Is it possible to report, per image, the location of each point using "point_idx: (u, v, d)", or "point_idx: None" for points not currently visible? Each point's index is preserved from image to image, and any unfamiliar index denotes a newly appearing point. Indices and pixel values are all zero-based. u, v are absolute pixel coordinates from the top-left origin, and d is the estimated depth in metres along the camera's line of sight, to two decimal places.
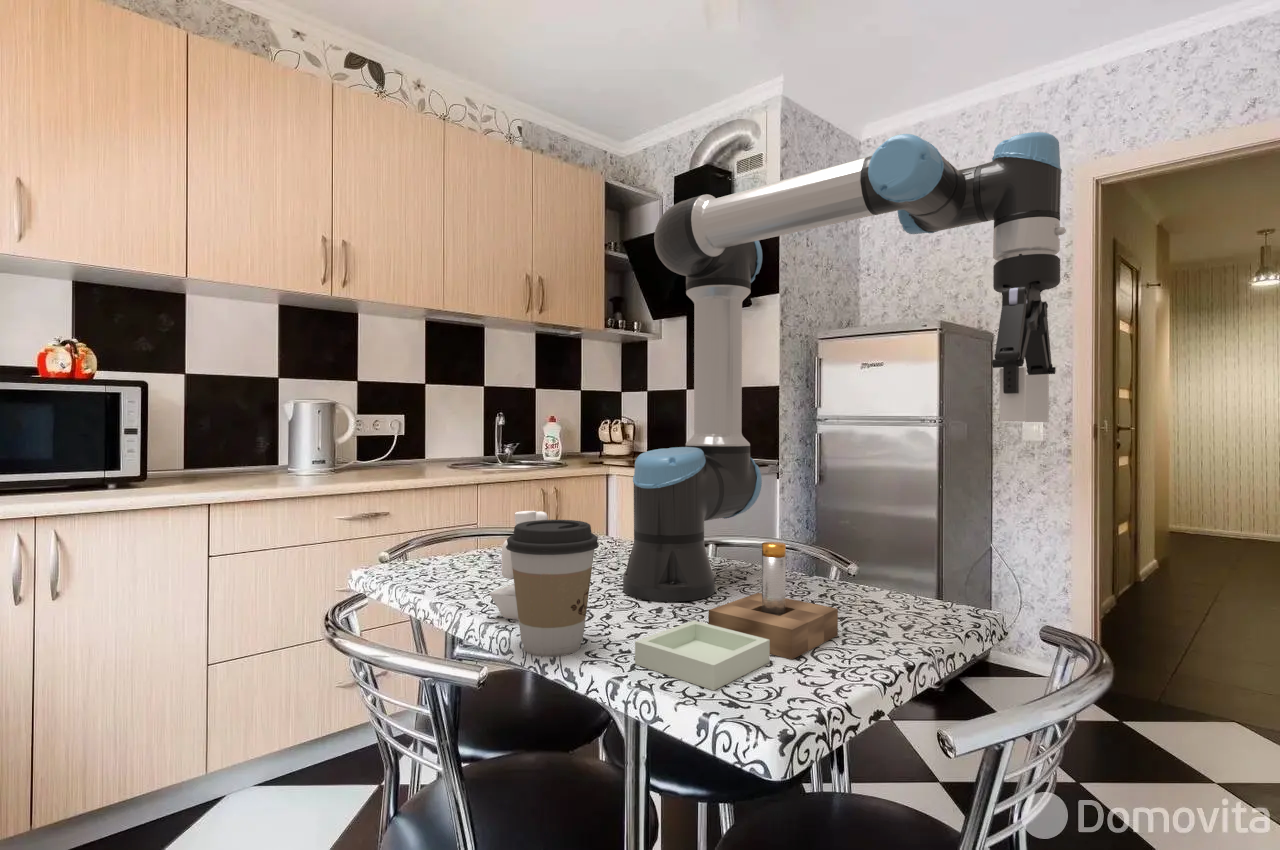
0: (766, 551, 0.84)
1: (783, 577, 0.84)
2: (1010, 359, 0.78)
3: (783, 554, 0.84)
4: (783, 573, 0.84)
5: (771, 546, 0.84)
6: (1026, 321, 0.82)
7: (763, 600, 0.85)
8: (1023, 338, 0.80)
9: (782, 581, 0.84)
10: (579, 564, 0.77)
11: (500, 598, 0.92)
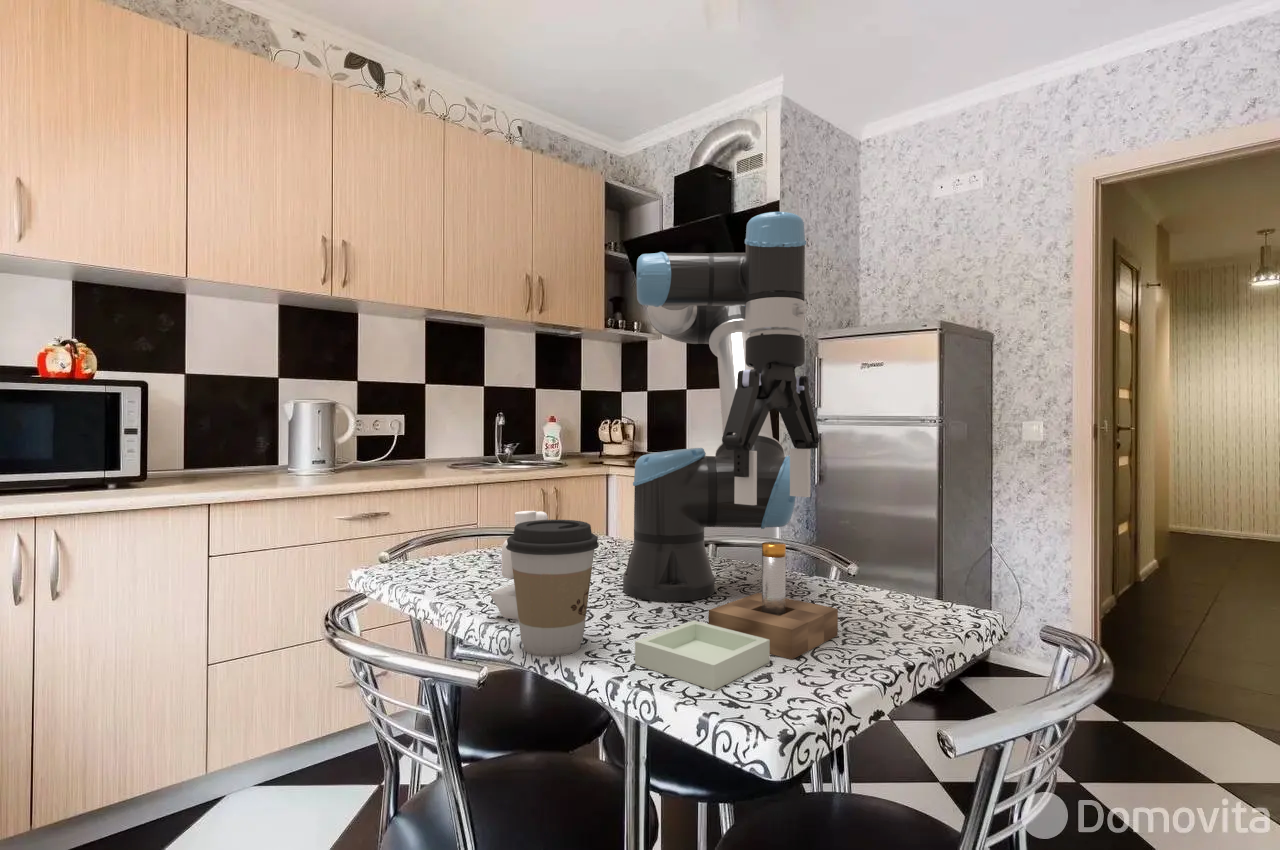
0: (766, 551, 0.84)
1: (783, 577, 0.84)
2: (734, 444, 0.77)
3: (783, 554, 0.84)
4: (783, 573, 0.84)
5: (771, 546, 0.84)
6: (764, 402, 0.81)
7: (763, 600, 0.85)
8: (756, 420, 0.80)
9: (782, 581, 0.84)
10: (579, 564, 0.77)
11: (500, 598, 0.92)
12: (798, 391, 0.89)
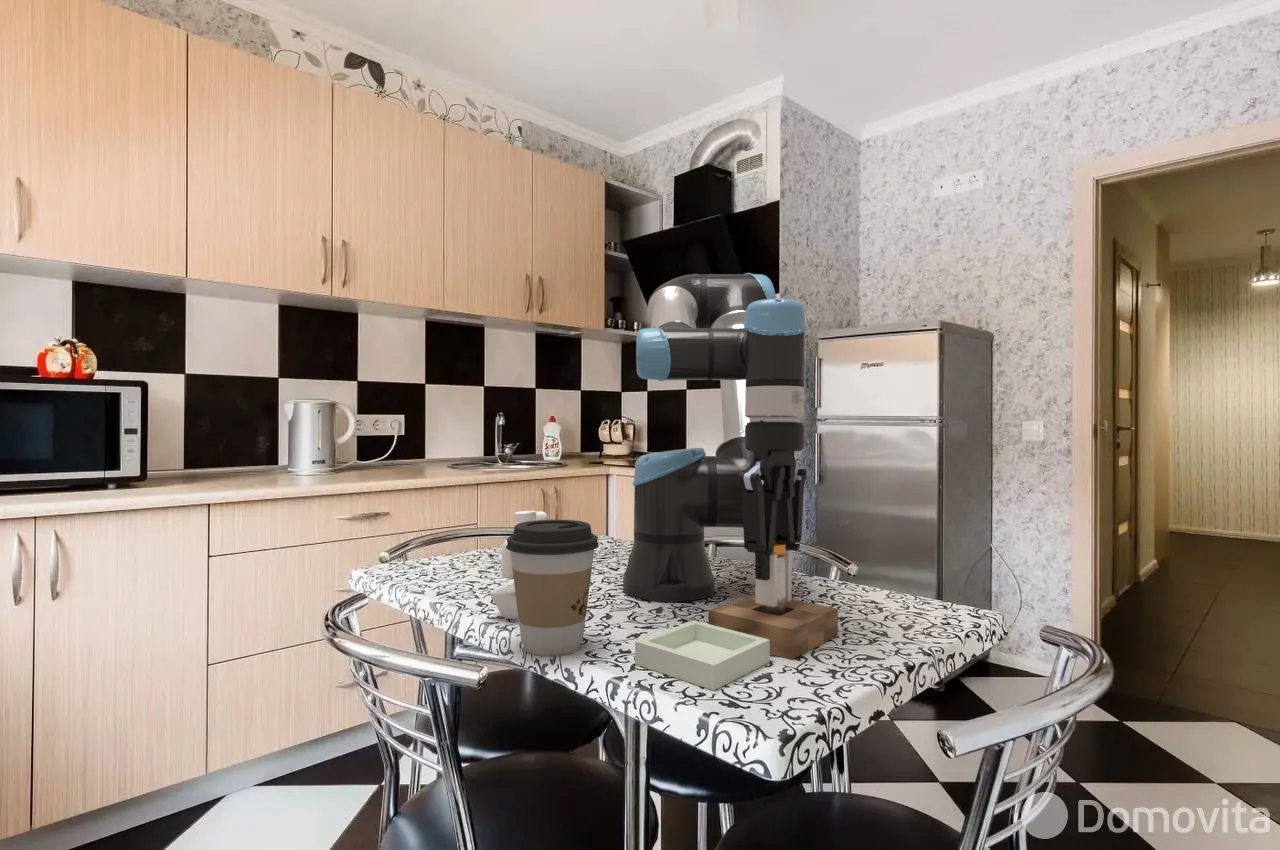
0: None
1: (783, 577, 0.84)
2: (757, 550, 0.81)
3: (783, 554, 0.84)
4: (783, 573, 0.84)
5: None
6: (770, 498, 0.83)
7: None
8: (769, 522, 0.82)
9: (782, 581, 0.84)
10: (579, 564, 0.77)
11: (500, 598, 0.92)
12: (794, 480, 0.88)
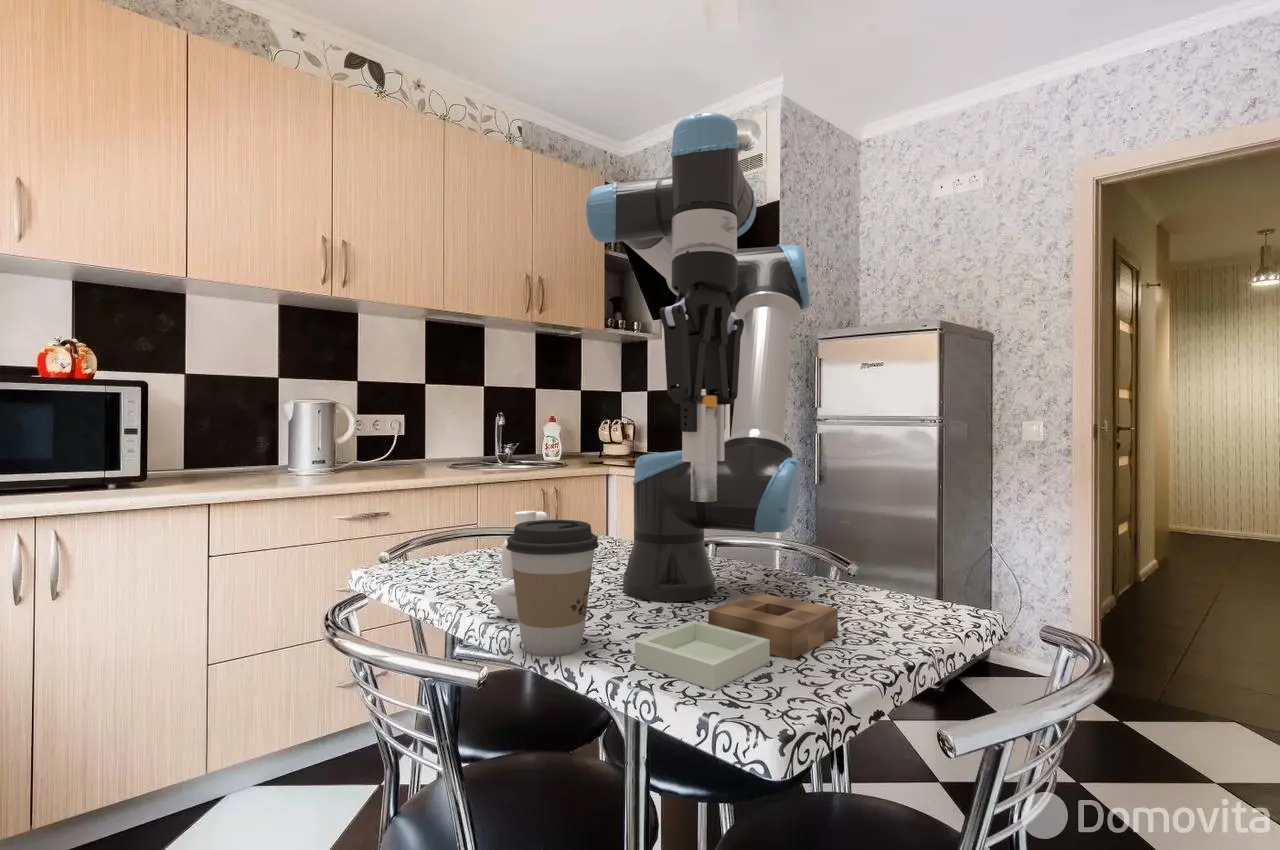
0: None
1: (714, 431, 0.74)
2: (682, 396, 0.72)
3: (714, 405, 0.74)
4: (714, 427, 0.74)
5: None
6: (697, 339, 0.73)
7: None
8: (695, 366, 0.73)
9: (712, 436, 0.74)
10: (579, 564, 0.77)
11: (500, 598, 0.92)
12: (729, 330, 0.78)
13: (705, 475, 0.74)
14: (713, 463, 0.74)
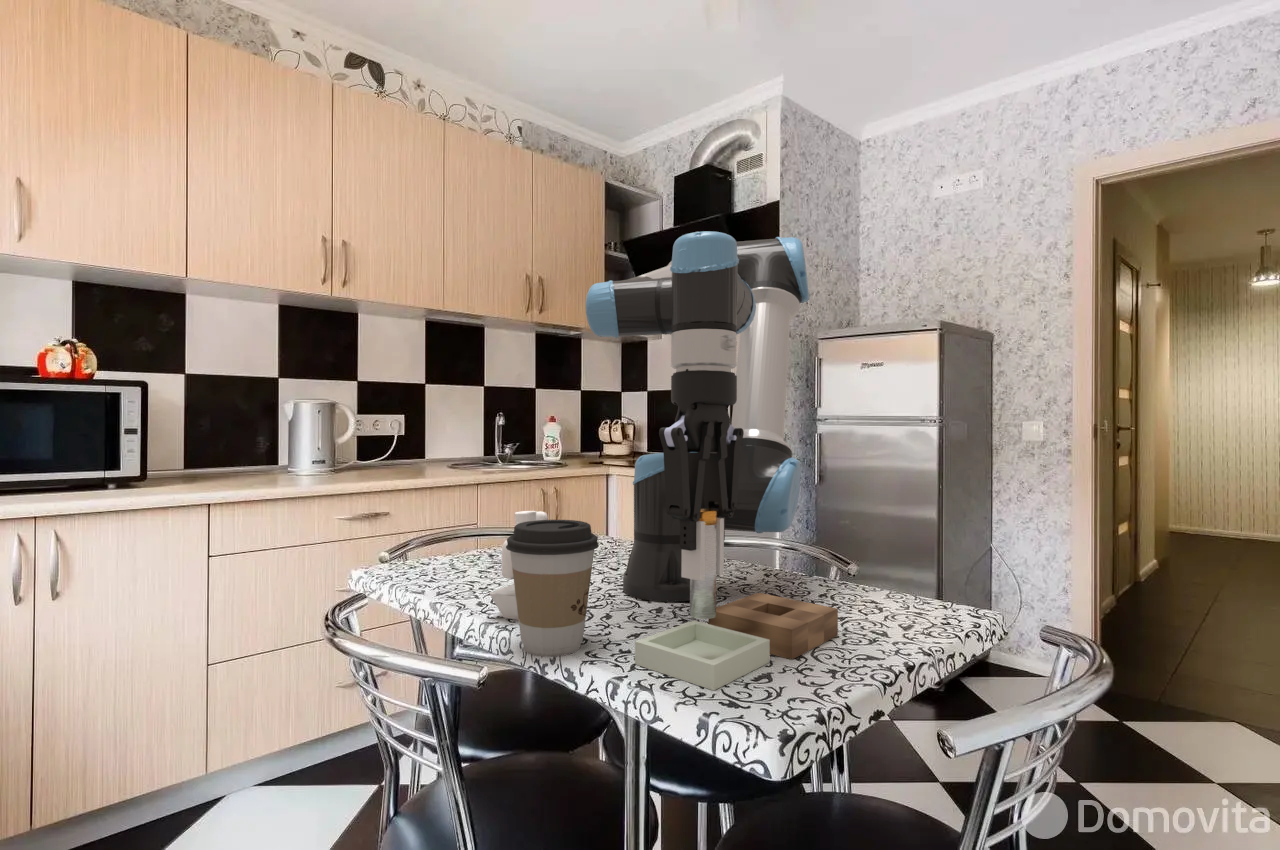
0: None
1: (713, 547, 0.74)
2: (681, 516, 0.72)
3: (713, 521, 0.74)
4: (713, 543, 0.74)
5: None
6: (697, 457, 0.73)
7: None
8: (695, 485, 0.72)
9: (712, 552, 0.74)
10: (579, 564, 0.77)
11: (500, 598, 0.92)
12: (729, 440, 0.78)
13: (704, 592, 0.74)
14: (712, 579, 0.74)
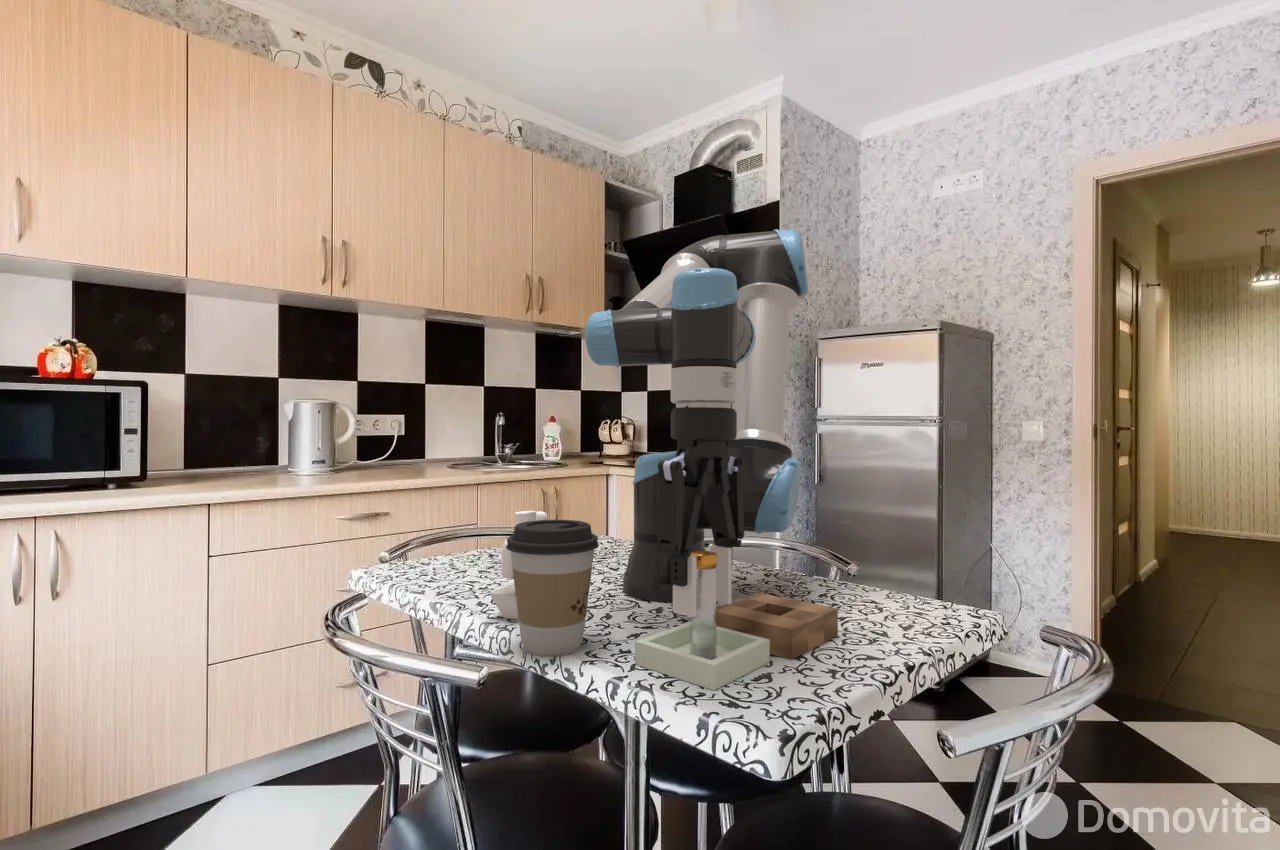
0: None
1: (713, 591, 0.74)
2: (671, 552, 0.70)
3: (713, 565, 0.74)
4: (713, 587, 0.74)
5: (699, 556, 0.74)
6: (693, 492, 0.73)
7: (691, 617, 0.75)
8: (689, 519, 0.72)
9: (712, 596, 0.74)
10: (579, 564, 0.77)
11: (500, 598, 0.92)
12: (730, 472, 0.79)
13: (704, 636, 0.74)
14: (712, 623, 0.74)
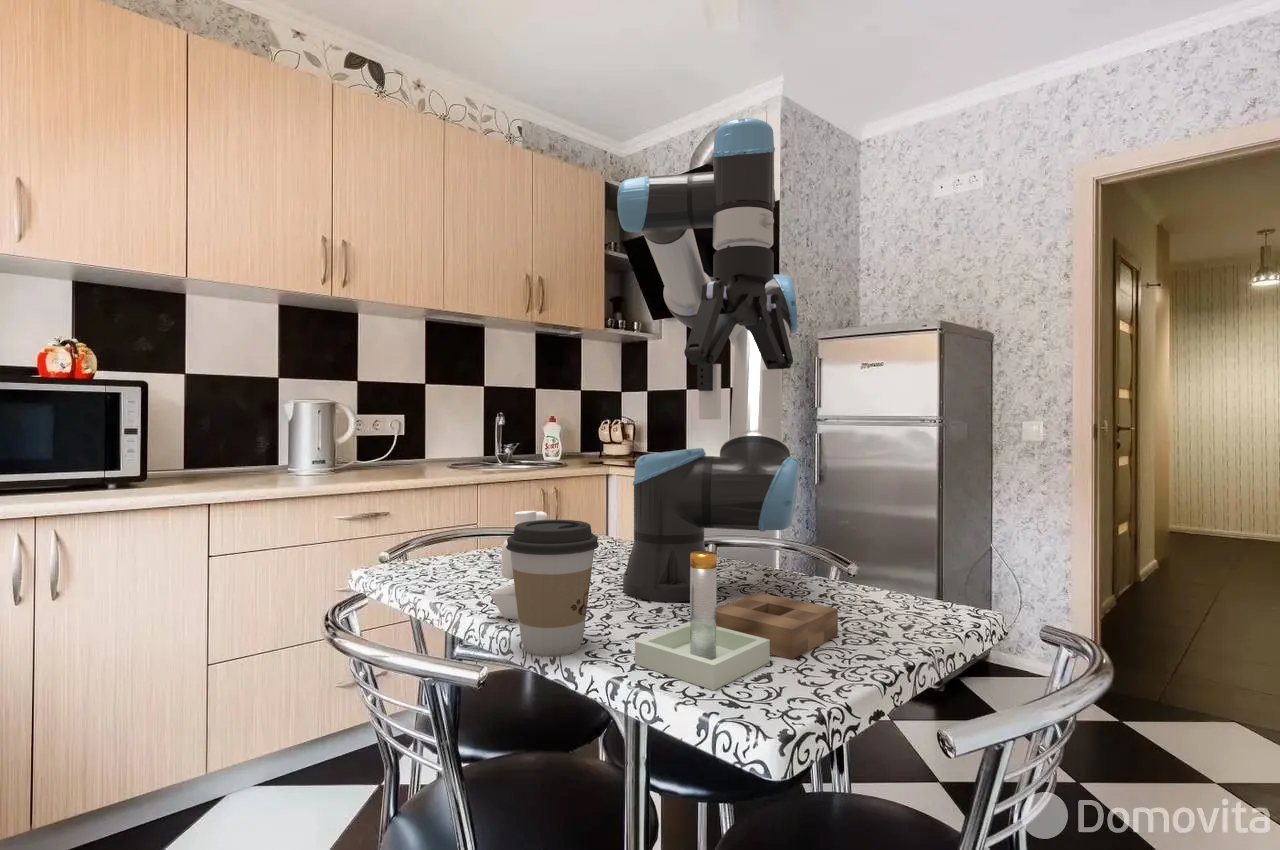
0: (694, 562, 0.74)
1: (713, 591, 0.74)
2: (696, 356, 0.76)
3: (713, 565, 0.74)
4: (713, 587, 0.74)
5: (699, 556, 0.74)
6: (729, 316, 0.79)
7: (691, 617, 0.75)
8: (720, 333, 0.78)
9: (712, 596, 0.74)
10: (579, 564, 0.77)
11: (500, 598, 0.92)
12: (770, 309, 0.87)
13: (704, 636, 0.74)
14: (712, 623, 0.74)
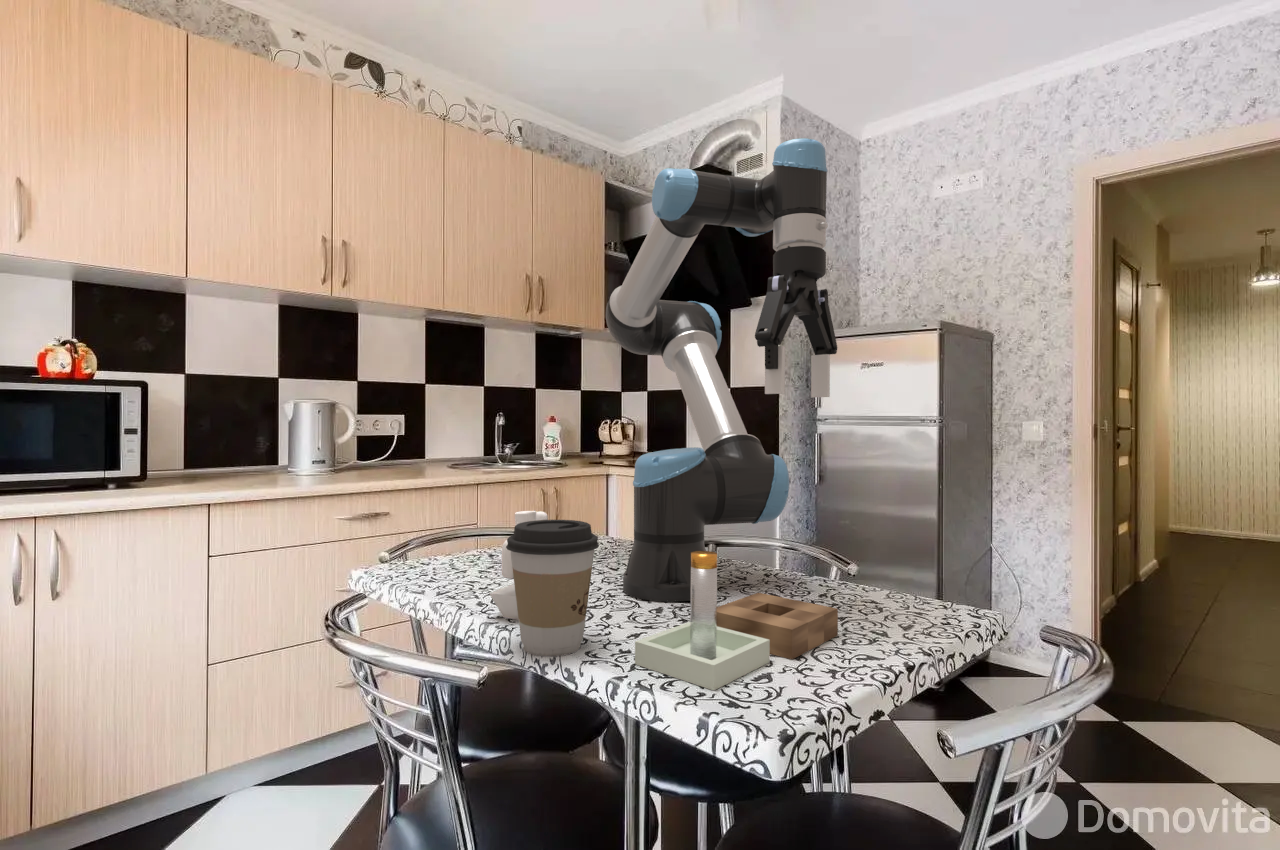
0: (694, 562, 0.74)
1: (713, 591, 0.74)
2: (766, 338, 0.88)
3: (714, 565, 0.74)
4: (713, 587, 0.74)
5: (700, 556, 0.74)
6: (790, 305, 0.92)
7: (691, 617, 0.75)
8: (784, 320, 0.91)
9: (712, 596, 0.74)
10: (579, 564, 0.77)
11: (500, 598, 0.92)
12: (819, 302, 1.00)
13: (704, 636, 0.74)
14: (713, 623, 0.74)
